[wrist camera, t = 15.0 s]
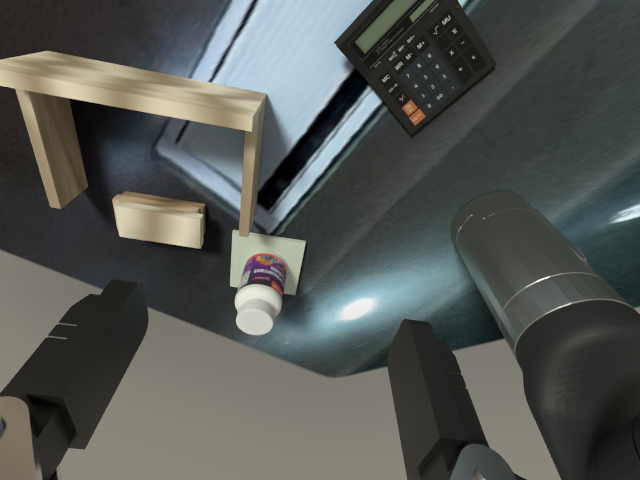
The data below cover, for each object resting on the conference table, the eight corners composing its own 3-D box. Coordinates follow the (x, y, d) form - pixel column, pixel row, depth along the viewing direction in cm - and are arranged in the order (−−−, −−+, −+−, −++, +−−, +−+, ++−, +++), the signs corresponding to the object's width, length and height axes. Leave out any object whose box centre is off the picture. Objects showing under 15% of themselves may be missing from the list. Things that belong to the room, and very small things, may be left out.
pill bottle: (294, 261, 45) (288, 318, 37) (275, 287, 47) (265, 345, 39) (257, 242, 43) (242, 298, 35) (238, 270, 46) (221, 328, 38)
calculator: (409, 132, 36) (416, 142, 34) (333, 39, 31) (334, 43, 29) (492, 62, 32) (506, 68, 30) (420, -55, 27) (429, -60, 25)
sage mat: (305, 241, 43) (305, 243, 43) (295, 292, 49) (295, 295, 48) (233, 229, 43) (232, 232, 42) (230, 283, 48) (229, 286, 47)
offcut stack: (209, 203, 41) (200, 219, 38) (208, 231, 43) (200, 248, 40) (122, 189, 40) (106, 204, 37) (127, 218, 42) (112, 235, 39)
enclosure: (266, 93, 34) (252, 116, 27) (255, 213, 41) (242, 254, 35) (47, 51, 32) (-25, 64, 25) (78, 185, 39) (29, 222, 33)
